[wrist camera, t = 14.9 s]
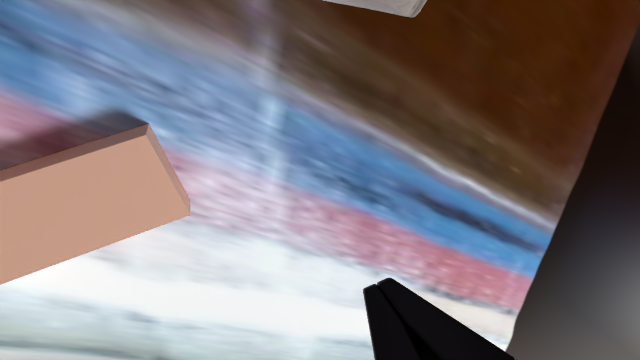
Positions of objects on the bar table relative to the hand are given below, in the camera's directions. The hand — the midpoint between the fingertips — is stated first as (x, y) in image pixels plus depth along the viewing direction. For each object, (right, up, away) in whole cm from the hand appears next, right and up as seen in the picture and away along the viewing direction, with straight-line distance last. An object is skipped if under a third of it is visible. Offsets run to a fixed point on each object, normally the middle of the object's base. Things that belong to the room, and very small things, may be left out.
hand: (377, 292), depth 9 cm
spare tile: (-10, +4, +9) cm, 13 cm away
